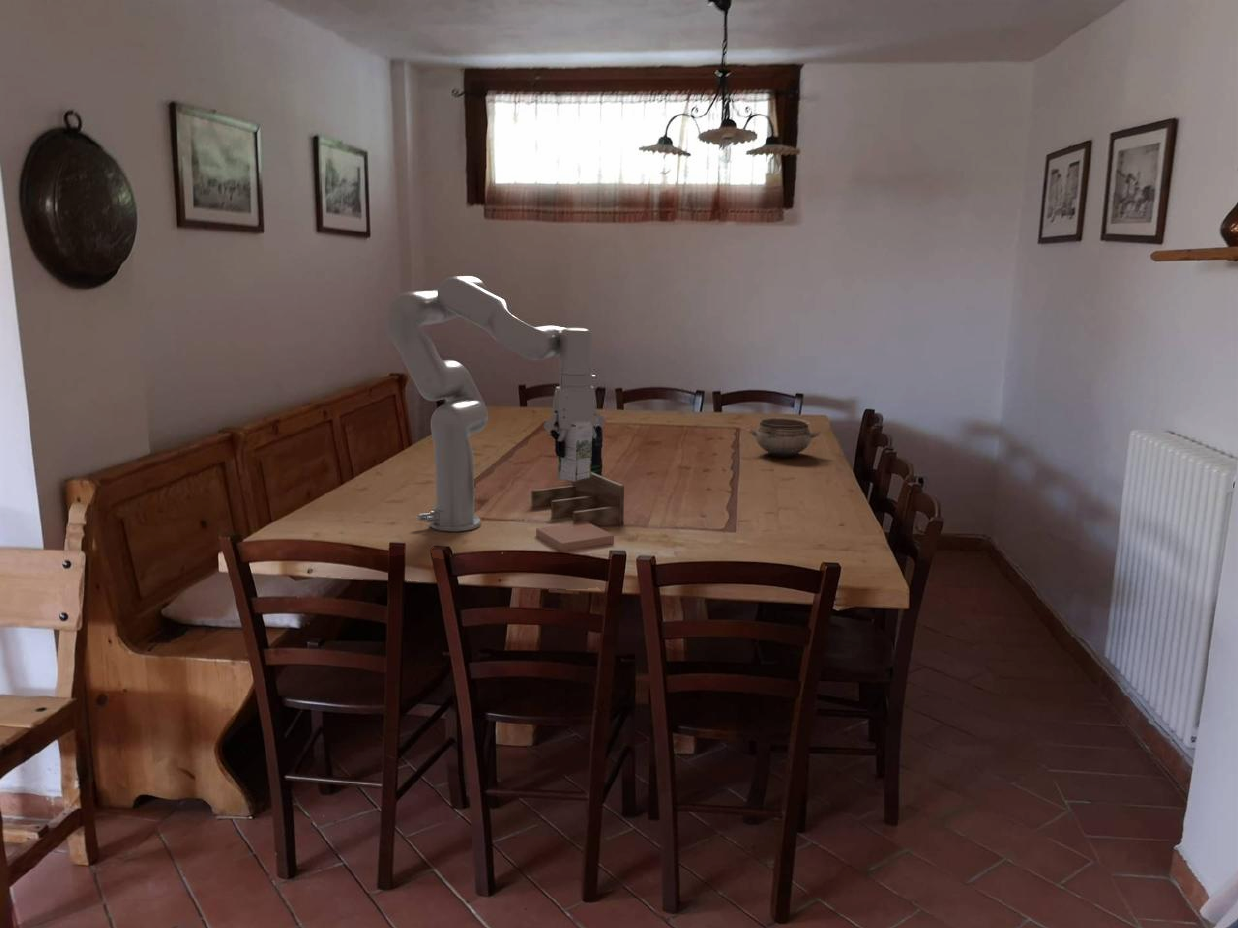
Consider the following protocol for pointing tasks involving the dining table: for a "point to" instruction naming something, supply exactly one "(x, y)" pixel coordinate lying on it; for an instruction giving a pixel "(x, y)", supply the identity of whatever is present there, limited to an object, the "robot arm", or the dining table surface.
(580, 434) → the syrup box
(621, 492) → the walnut rack
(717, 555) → the dining table surface
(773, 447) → the cooking pot
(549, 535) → the terracotta tile
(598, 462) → the storage jar
